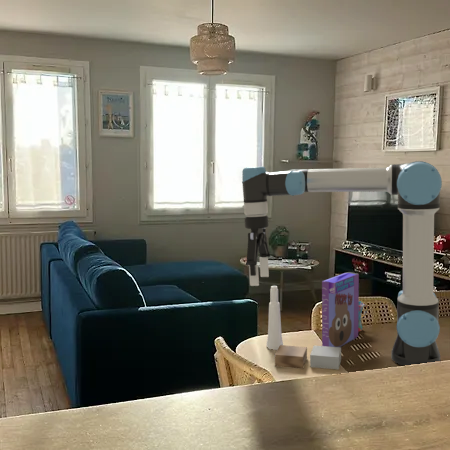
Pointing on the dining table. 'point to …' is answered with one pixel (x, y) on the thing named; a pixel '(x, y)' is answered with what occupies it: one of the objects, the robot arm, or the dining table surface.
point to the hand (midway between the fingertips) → (259, 281)
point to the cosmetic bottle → (274, 321)
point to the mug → (360, 315)
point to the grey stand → (325, 357)
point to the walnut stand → (291, 356)
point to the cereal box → (340, 309)
